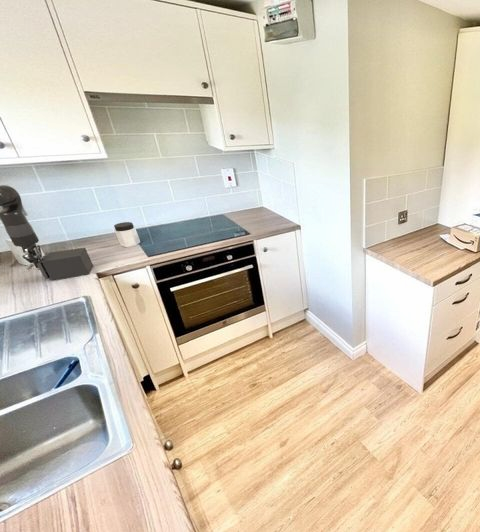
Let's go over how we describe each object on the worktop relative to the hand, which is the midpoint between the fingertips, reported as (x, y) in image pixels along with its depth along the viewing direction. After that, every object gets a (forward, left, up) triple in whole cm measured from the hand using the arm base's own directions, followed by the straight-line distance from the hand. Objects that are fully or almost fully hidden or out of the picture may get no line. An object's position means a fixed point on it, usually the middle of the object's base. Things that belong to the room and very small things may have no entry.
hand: (41, 268), depth 146 cm
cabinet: (+10, 0, -5) cm, 11 cm away
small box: (-10, +25, -5) cm, 27 cm away
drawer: (+4, 0, -4) cm, 6 cm away
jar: (+29, +29, -5) cm, 41 cm away
